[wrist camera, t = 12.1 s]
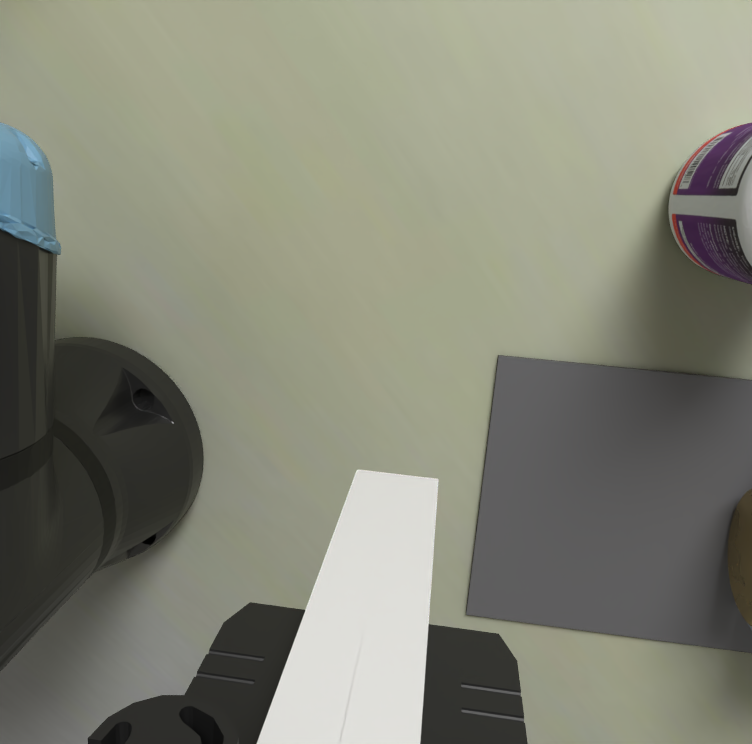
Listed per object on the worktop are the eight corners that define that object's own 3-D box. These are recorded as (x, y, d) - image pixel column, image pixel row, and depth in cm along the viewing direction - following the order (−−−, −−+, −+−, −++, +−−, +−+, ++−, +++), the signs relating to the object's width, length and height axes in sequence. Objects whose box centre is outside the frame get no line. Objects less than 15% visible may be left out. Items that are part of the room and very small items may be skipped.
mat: (466, 612, 46) (466, 614, 46) (498, 355, 41) (498, 356, 41) (905, 670, 43) (907, 674, 43) (993, 403, 39) (997, 405, 38)
